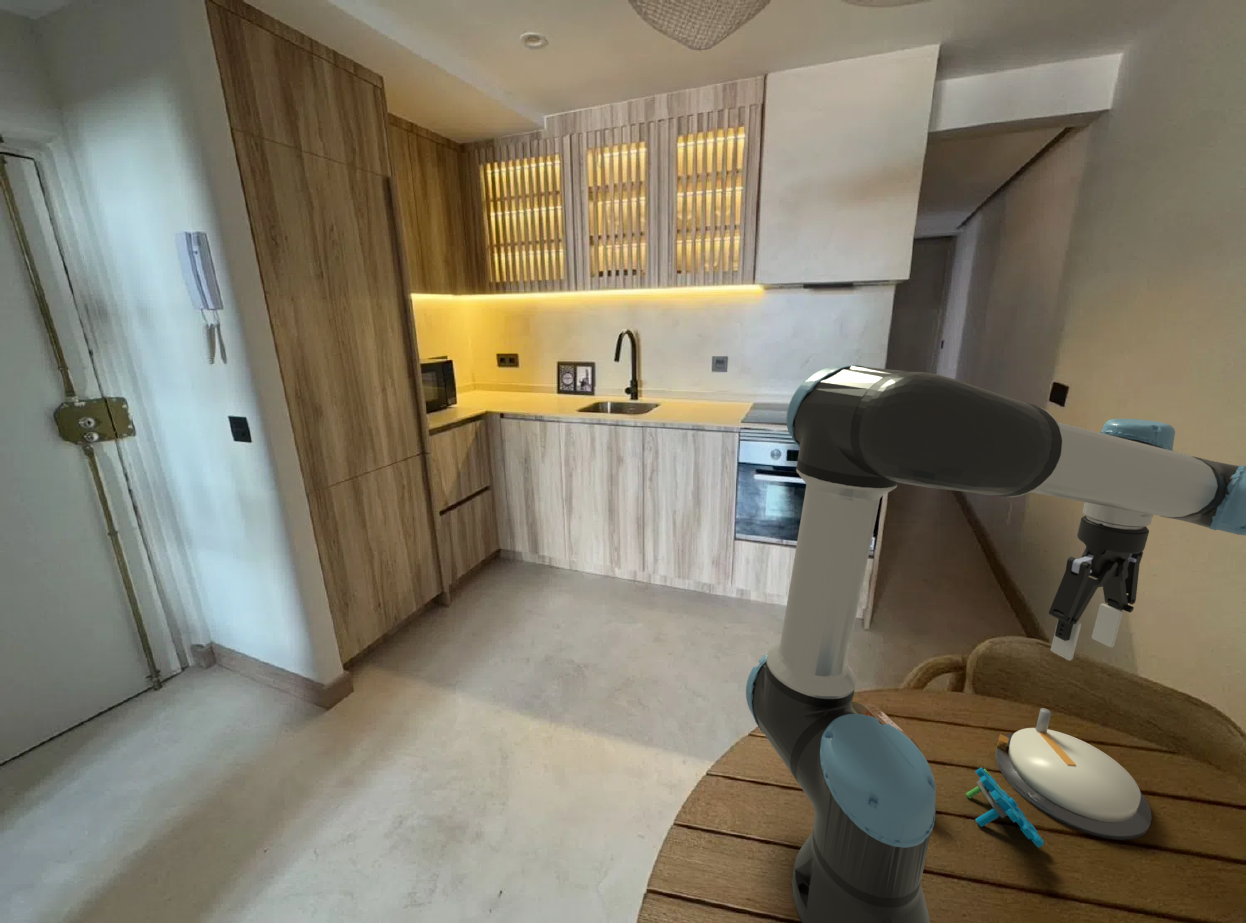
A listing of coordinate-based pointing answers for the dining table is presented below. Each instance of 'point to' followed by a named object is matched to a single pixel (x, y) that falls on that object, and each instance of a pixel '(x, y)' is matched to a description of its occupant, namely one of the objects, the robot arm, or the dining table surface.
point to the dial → (1073, 773)
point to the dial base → (1094, 827)
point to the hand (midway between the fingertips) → (1082, 648)
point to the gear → (1002, 806)
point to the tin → (876, 715)
